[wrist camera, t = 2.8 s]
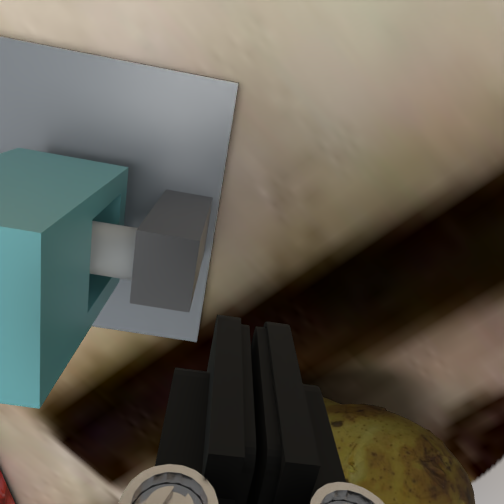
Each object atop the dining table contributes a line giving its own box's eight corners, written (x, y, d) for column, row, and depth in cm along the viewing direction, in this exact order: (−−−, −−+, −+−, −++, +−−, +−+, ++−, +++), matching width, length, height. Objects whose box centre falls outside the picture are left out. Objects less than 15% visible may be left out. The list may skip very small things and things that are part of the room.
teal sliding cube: (128, 167, 16) (41, 232, 9) (119, 281, 18) (39, 408, 11) (19, 147, 16) (-155, 201, 9) (20, 265, 18) (-126, 386, 11)
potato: (201, 349, 23) (179, 478, 16) (438, 373, 24) (525, 507, 16) (190, 467, 26) (167, 622, 19) (400, 485, 27) (459, 641, 19)
